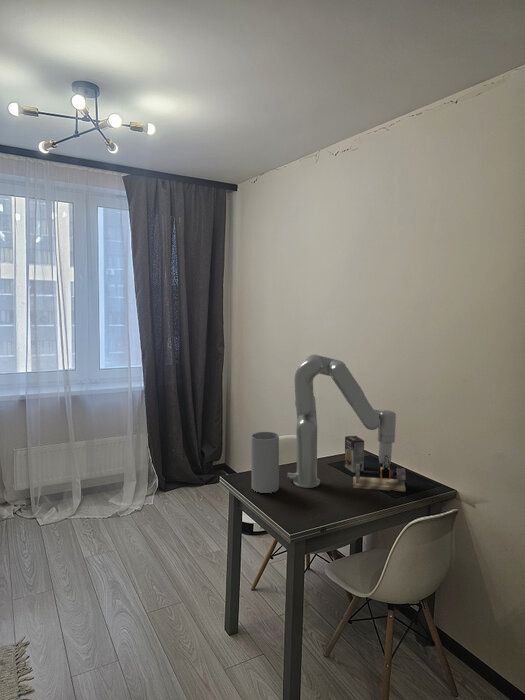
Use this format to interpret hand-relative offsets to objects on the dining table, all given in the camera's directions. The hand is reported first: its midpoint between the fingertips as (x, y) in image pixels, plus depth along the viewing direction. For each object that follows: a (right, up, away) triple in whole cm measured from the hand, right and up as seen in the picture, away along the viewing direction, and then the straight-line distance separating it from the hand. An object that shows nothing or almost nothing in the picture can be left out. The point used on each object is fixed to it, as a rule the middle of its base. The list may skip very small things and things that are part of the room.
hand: (384, 473), depth 212 cm
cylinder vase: (-55, -7, -2) cm, 55 cm away
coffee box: (-10, -4, +22) cm, 24 cm away
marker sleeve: (0, -2, 0) cm, 2 cm away
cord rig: (-3, -6, +1) cm, 6 cm away
